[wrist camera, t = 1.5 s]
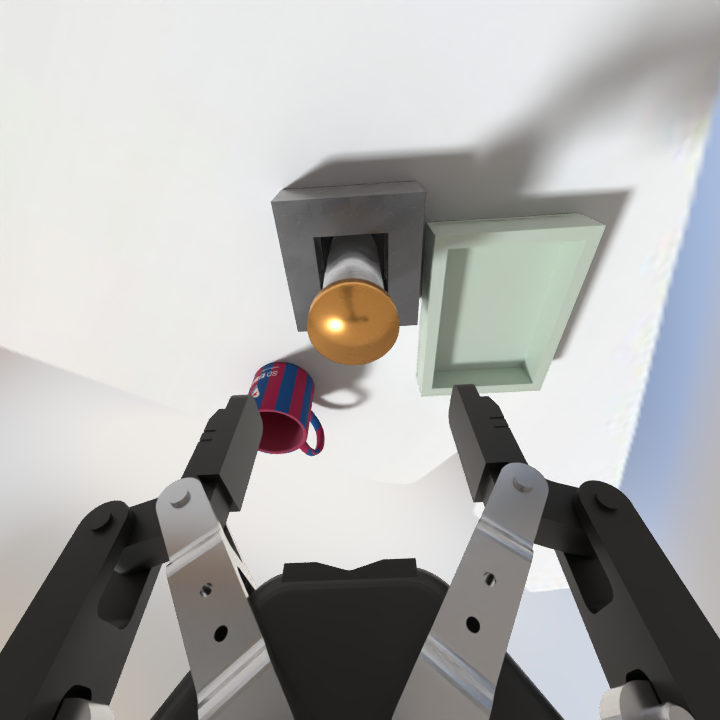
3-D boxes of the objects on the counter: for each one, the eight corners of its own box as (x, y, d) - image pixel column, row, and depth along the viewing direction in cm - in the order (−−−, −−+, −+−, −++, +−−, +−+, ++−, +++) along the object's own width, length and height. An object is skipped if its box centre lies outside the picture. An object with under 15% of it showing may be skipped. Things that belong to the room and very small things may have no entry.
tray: (426, 222, 25) (435, 235, 23) (579, 213, 25) (606, 225, 22) (416, 374, 35) (421, 396, 33) (525, 368, 35) (540, 390, 32)
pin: (319, 222, 25) (299, 289, 16) (382, 218, 25) (400, 283, 16) (327, 281, 28) (314, 367, 19) (383, 278, 28) (398, 362, 19)
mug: (288, 352, 33) (275, 398, 28) (341, 408, 38) (340, 456, 33) (241, 378, 35) (220, 426, 30) (298, 428, 41) (289, 476, 35)
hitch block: (281, 189, 24) (270, 201, 21) (416, 180, 24) (425, 191, 20) (303, 308, 30) (297, 331, 27) (410, 302, 30) (417, 324, 27)
